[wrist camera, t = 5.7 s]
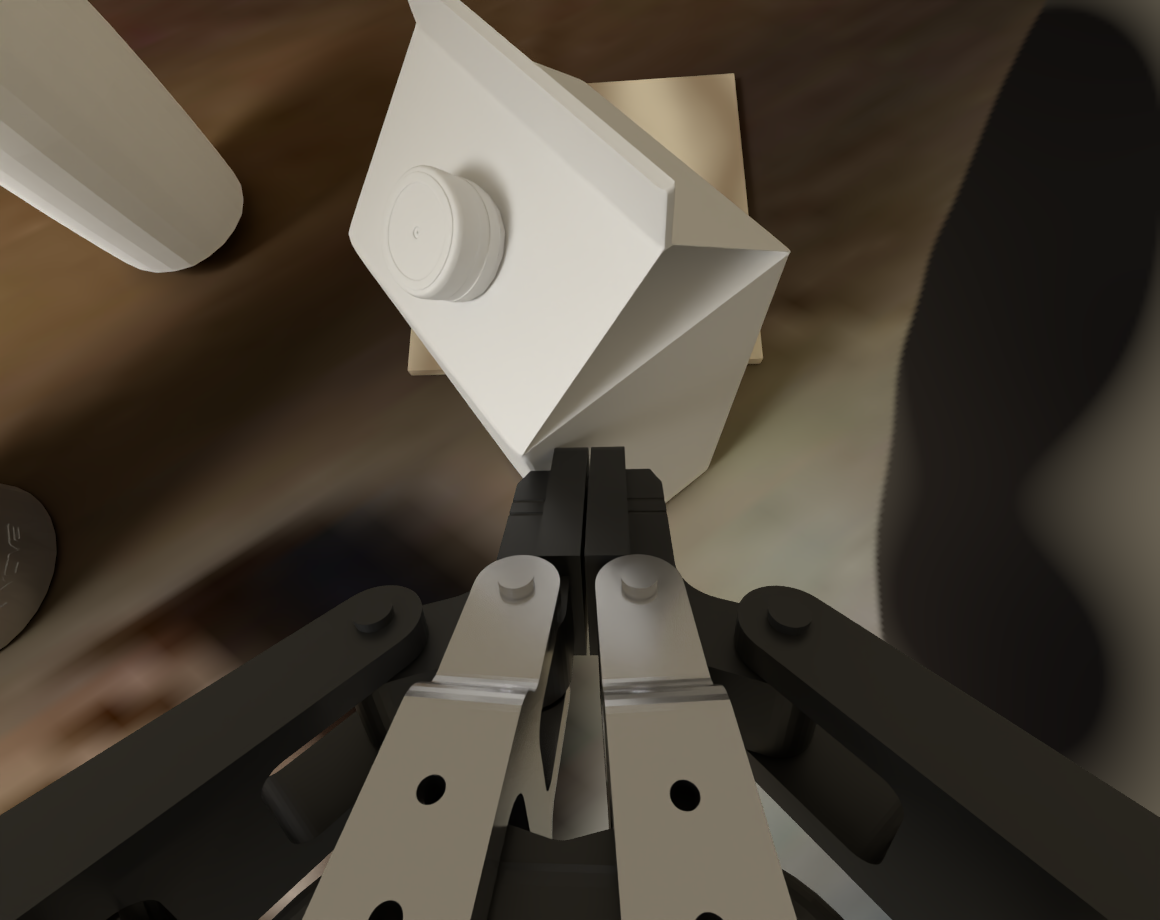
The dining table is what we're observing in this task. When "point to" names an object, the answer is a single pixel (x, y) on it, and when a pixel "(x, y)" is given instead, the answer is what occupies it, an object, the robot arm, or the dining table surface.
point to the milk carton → (559, 256)
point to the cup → (106, 141)
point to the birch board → (670, 147)
